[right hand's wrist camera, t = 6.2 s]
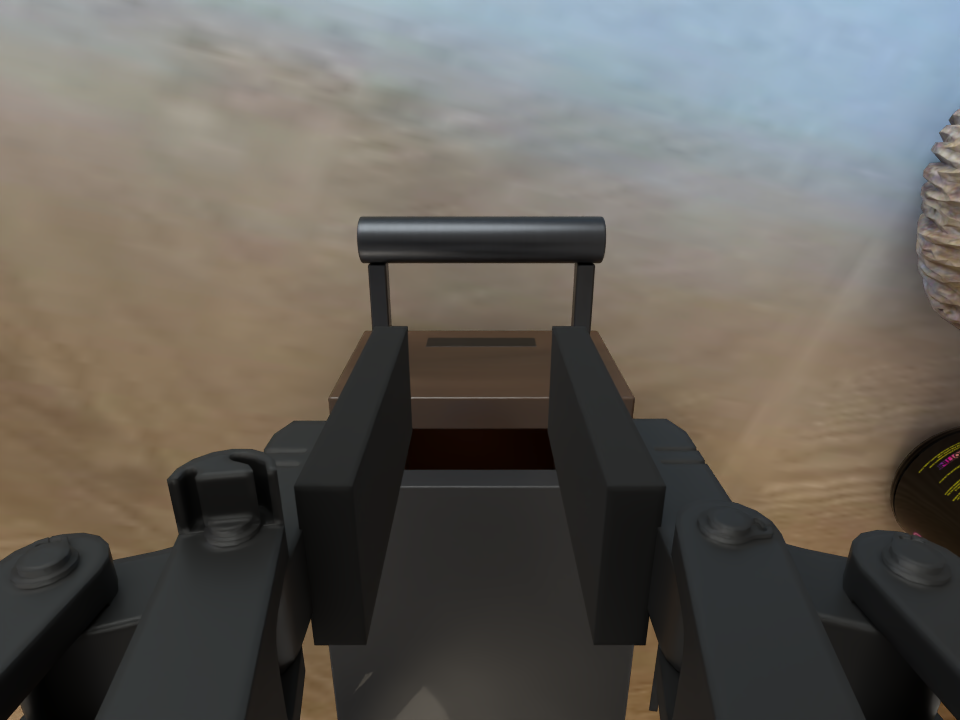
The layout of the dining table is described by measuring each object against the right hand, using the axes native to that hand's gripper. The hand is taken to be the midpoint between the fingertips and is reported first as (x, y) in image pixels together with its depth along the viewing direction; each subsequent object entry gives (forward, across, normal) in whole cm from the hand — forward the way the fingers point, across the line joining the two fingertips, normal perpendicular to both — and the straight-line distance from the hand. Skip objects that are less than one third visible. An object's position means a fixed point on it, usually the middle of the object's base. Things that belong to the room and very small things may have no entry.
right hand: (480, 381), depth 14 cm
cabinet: (+13, 0, -15) cm, 20 cm away
